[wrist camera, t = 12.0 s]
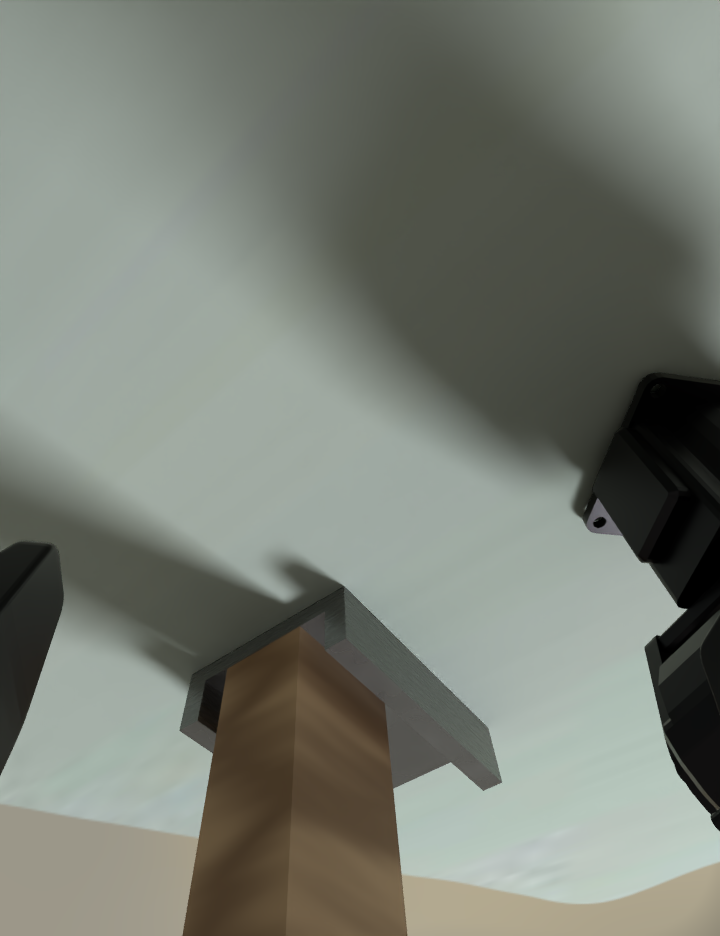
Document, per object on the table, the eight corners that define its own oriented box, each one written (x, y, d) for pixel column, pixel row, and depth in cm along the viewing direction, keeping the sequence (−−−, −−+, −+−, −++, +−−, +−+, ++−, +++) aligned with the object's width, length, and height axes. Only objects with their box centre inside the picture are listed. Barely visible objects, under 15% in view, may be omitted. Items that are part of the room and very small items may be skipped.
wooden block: (299, 626, 25) (274, 1173, 13) (384, 699, 28) (434, 1212, 15) (227, 668, 26) (136, 1210, 14) (315, 735, 29) (307, 1240, 16)
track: (192, 675, 28) (179, 730, 25) (344, 586, 25) (346, 638, 23) (350, 792, 33) (352, 847, 31) (488, 728, 31) (502, 782, 28)
